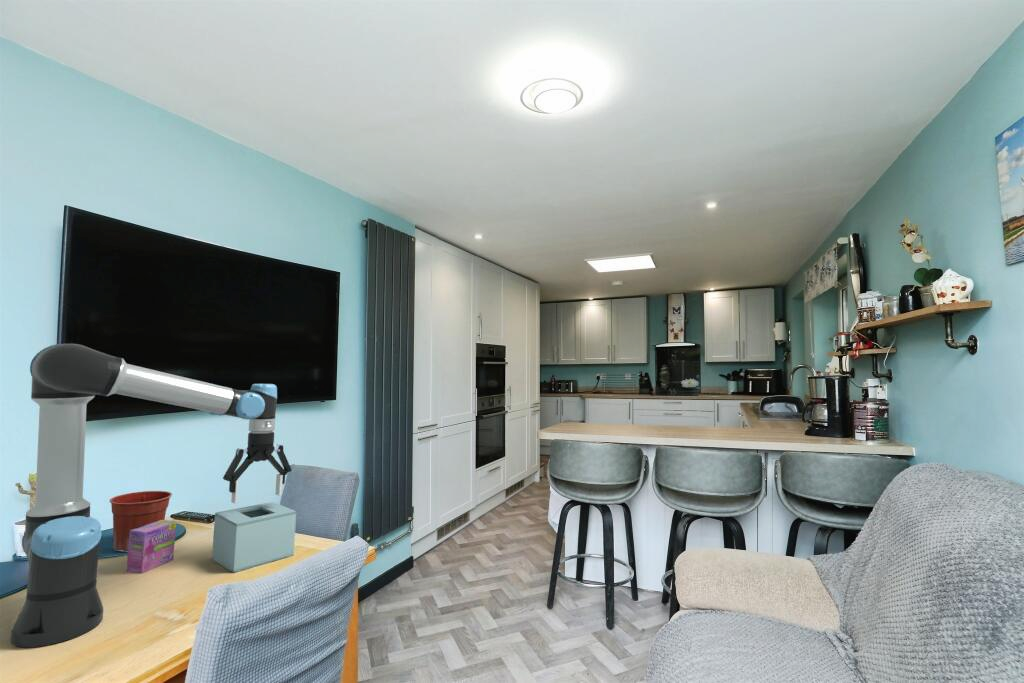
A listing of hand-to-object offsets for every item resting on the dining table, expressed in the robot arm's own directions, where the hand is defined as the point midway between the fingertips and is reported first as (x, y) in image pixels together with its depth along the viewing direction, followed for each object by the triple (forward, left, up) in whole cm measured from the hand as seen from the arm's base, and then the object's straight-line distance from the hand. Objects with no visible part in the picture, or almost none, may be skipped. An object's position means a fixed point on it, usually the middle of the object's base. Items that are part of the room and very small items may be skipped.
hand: (257, 498), depth 153 cm
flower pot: (-21, +36, -18) cm, 46 cm away
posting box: (0, 0, -18) cm, 18 cm away
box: (-23, +15, -18) cm, 33 cm away
